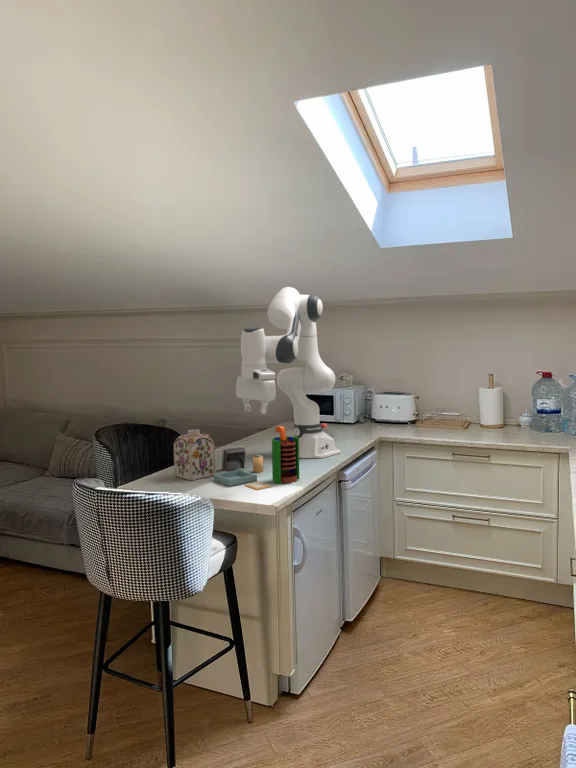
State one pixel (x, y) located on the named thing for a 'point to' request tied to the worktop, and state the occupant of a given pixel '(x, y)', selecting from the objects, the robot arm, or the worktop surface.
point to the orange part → (257, 463)
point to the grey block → (233, 466)
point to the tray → (235, 478)
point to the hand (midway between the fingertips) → (255, 412)
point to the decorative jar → (194, 456)
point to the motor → (285, 457)
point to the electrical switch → (233, 455)
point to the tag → (258, 485)
